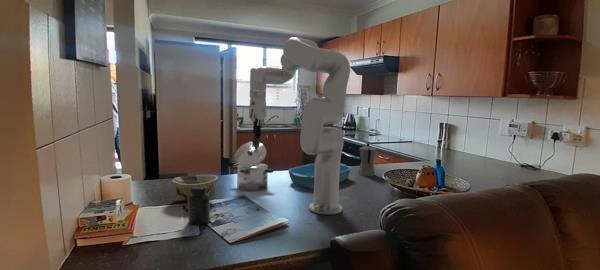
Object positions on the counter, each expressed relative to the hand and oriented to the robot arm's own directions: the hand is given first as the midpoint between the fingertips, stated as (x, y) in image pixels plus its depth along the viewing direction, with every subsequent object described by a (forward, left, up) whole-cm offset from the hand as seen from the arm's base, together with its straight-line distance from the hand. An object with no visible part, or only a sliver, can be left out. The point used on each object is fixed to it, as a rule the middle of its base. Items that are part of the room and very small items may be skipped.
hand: (256, 133), depth 154 cm
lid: (-5, 0, -7) cm, 9 cm away
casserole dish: (+18, -27, -25) cm, 41 cm away
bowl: (-32, +12, -25) cm, 42 cm away
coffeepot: (+42, -48, -25) cm, 69 cm away
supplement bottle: (-50, -2, -25) cm, 56 cm away
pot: (-5, 0, -25) cm, 25 cm away
